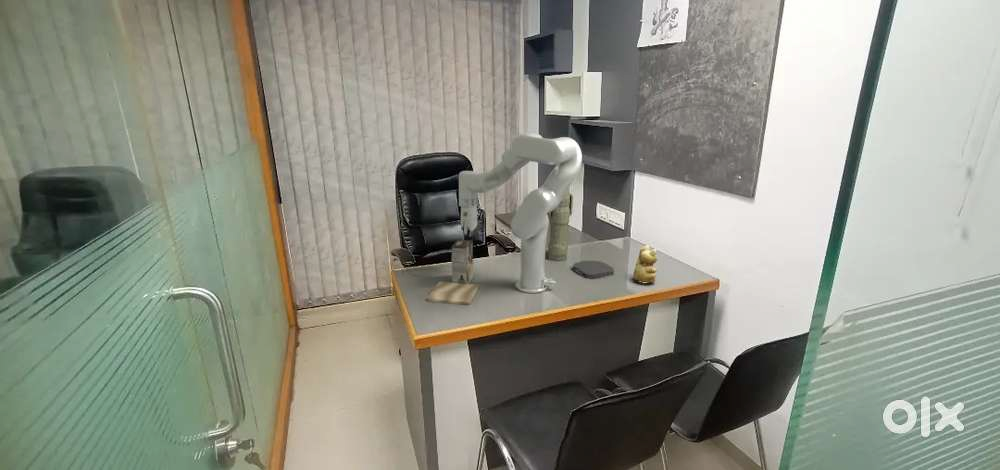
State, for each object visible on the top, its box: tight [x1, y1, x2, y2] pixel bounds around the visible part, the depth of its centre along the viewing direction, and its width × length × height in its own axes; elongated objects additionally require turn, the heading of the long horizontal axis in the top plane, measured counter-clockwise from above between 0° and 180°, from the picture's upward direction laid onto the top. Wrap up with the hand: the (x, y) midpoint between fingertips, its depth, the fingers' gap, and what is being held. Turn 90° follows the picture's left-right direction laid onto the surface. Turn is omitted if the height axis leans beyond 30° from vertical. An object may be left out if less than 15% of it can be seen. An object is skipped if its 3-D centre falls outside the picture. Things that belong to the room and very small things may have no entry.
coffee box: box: [450, 239, 474, 284], centre depth 183 cm, size 9×6×16 cm
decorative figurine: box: [633, 244, 658, 283], centre depth 185 cm, size 10×8×15 cm
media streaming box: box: [572, 260, 615, 280], centre depth 197 cm, size 15×15×3 cm
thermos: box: [547, 188, 574, 262], centre depth 208 cm, size 9×12×35 cm
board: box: [426, 281, 480, 306], centre depth 173 cm, size 16×16×1 cm
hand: (468, 244), depth 191 cm, fingers closed
